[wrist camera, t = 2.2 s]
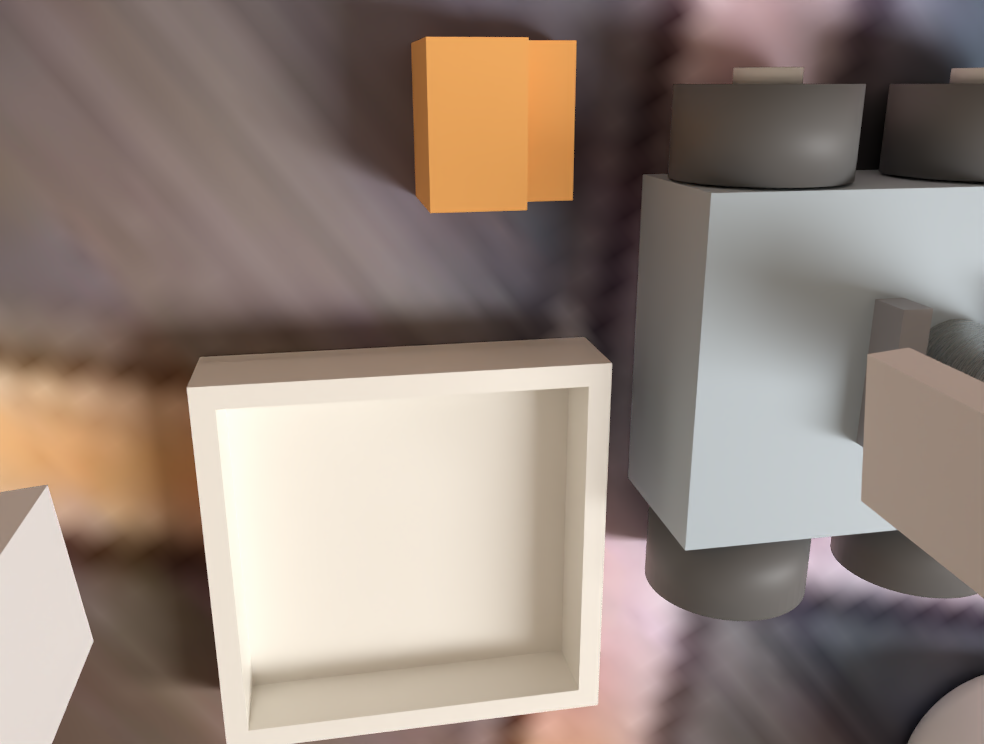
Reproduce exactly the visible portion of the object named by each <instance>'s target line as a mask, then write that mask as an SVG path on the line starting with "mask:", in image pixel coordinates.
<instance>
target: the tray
mask: <svg viewBox="0 0 984 744" xmlns="http://www.w3.org/2000/svg"><path fill="white" fill-rule="evenodd" d="M611 380H612V362H611V361H609V360H608V359H607V358H606V357H605V356H604V355H603V354H602V353H601V352H600V351H599V350H598V349H597V348H596V347H595V346H594V345H593V344H592V343H590V342H589V341H588V340H587V339H586V338H585V337H573V338H553V339H534V340H515V341H496V342H477V343H458V344H438V345H419V346H400V347H381V348H362V349H343V350H324V351H304V352H285V353H266V354H247V355H228V356H209V357H200V358H199V360H198V363H197V365H196V367H195V370H194V372H193V374H192V376H191V379H190V381H189V383H188V386H187V396H188V405H189V414H190V422H191V431H192V440H193V449H194V458H195V467H196V476H197V485H198V494H199V502H200V511H201V520H202V529H203V538H204V547H205V556H206V565H207V574H208V582H209V591H210V600H211V609H212V618H213V627H214V636H215V645H216V654H217V662H218V671H219V680H220V689H221V698H222V707H223V716H224V725H225V734H226V743H227V744H293V743H301V742H309V741H317V740H325V739H333V738H340V737H348V736H356V735H364V734H372V733H380V732H388V731H396V730H404V729H412V728H420V727H427V726H435V725H443V724H451V723H459V722H467V721H475V720H483V719H491V718H499V717H507V716H514V715H522V714H530V713H538V712H546V711H554V710H562V709H570V708H578V707H586V706H594V705H598V691H599V667H600V643H601V619H602V595H603V571H604V547H605V524H606V500H607V476H608V452H609V428H610V404H611Z"/></svg>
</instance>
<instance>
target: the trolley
mask: <svg viewBox="0 0 984 744" xmlns="http://www.w3.org/2000/svg"><path fill="white" fill-rule="evenodd" d="M803 76H804V67H747V68H733V80H732V84H673V96H672V113H671V131H670V148H669V165H668V174H643V183H642V203H641V223H640V244H639V264H638V284H637V304H636V324H635V345H634V365H633V385H632V405H631V425H630V446H629V466H628V479H629V480H630V481H631V482H632V484H633V485H634V486H635V488H636V489H637V490H638V491H639V493H640V494H641V495H642V496H643V498H644V499H645V500H646V501H647V503H648V504H649V510H648V527H647V545H646V562H645V575H646V578H647V580H648V582H649V584H650V585H651V587H652V588H653V589H654V590H655V591H656V592H657V593H658V594H659V595H660V596H661V597H663V598H664V599H666V600H667V601H669V602H670V603H672V604H674V605H676V606H678V607H680V608H682V609H685V610H687V611H690V612H692V613H696V614H699V615H702V616H706V617H711V618H716V619H722V620H732V621H756V620H764V619H770V618H774V617H778V616H780V615H783V614H785V613H787V612H789V611H791V610H793V609H794V608H795V607H796V606H798V605H799V603H800V602H801V601H802V599H803V597H804V593H805V585H806V577H807V569H808V560H809V552H810V544H811V538H820V537H831V544H830V547H831V551H832V553H833V555H834V557H835V558H836V560H837V561H838V562H839V563H840V564H841V565H842V566H844V567H845V568H846V569H847V570H849V571H850V572H852V573H853V574H855V575H857V576H858V577H860V578H862V579H864V580H866V581H868V582H870V583H873V584H875V585H878V586H880V587H883V588H886V589H889V590H893V591H896V592H900V593H904V594H909V595H914V596H921V597H928V598H960V597H966V596H971V595H974V594H977V593H976V592H975V591H974V590H973V589H971V588H970V587H969V586H968V585H966V584H965V583H964V582H963V581H961V580H960V579H959V578H958V577H956V576H955V575H954V574H952V573H951V572H950V571H949V570H947V569H946V568H945V567H944V566H942V565H941V564H940V563H939V562H937V561H936V560H935V559H934V558H932V557H931V556H930V555H929V554H927V553H926V552H925V551H924V550H922V549H921V548H920V547H919V546H917V545H916V544H915V543H913V542H912V541H911V540H910V539H908V538H907V537H906V536H905V535H903V534H902V533H901V532H900V531H898V530H897V529H896V528H895V527H893V526H892V525H891V524H890V523H888V522H887V521H886V520H885V519H883V518H882V517H881V516H879V515H878V514H877V513H876V512H874V511H873V510H872V509H871V508H869V507H868V506H867V505H866V504H864V503H863V502H862V501H861V487H862V464H863V441H864V418H865V395H866V372H867V354H871V353H878V352H884V351H890V350H897V349H903V348H911V349H914V350H916V351H918V352H920V353H922V354H924V355H926V353H927V346H928V340H929V333H930V328H932V327H933V326H935V325H937V324H939V323H941V322H944V321H947V320H951V319H968V320H971V321H974V322H977V323H980V324H983V325H984V68H952V69H951V76H950V83H949V84H890V86H889V94H888V102H887V110H886V117H885V125H884V133H883V141H882V148H881V156H880V164H879V170H856V164H857V156H858V148H859V139H860V131H861V123H862V115H863V106H864V98H865V90H866V84H803Z"/></svg>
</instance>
